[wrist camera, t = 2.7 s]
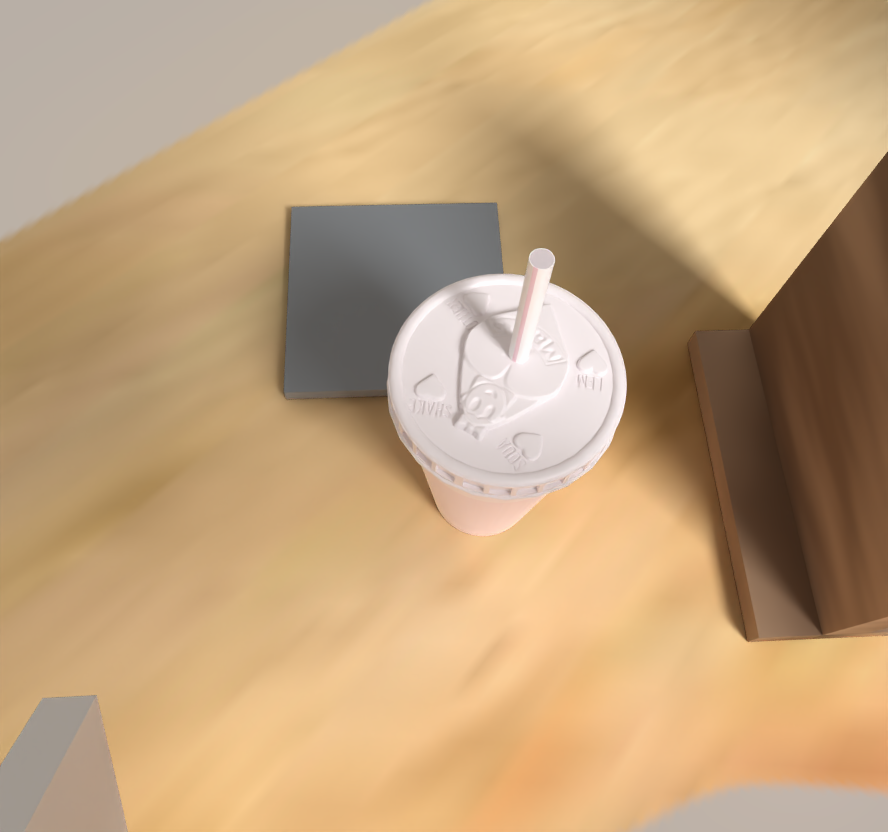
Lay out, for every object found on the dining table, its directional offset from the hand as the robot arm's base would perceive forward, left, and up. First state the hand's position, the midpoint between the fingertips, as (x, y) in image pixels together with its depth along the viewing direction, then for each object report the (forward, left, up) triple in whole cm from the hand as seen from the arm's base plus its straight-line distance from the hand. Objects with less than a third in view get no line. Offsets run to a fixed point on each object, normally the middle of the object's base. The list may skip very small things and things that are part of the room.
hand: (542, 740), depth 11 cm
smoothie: (-1, -9, -15) cm, 17 cm away
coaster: (+2, -17, -15) cm, 23 cm away
